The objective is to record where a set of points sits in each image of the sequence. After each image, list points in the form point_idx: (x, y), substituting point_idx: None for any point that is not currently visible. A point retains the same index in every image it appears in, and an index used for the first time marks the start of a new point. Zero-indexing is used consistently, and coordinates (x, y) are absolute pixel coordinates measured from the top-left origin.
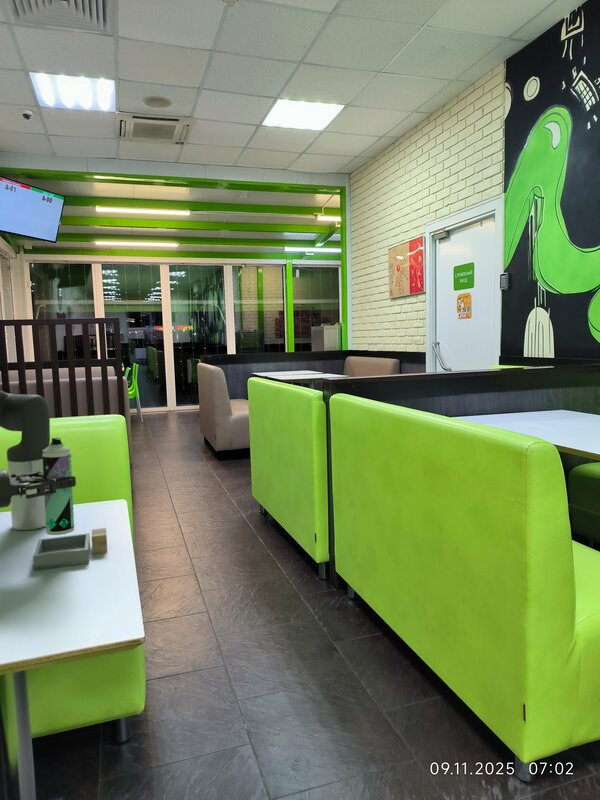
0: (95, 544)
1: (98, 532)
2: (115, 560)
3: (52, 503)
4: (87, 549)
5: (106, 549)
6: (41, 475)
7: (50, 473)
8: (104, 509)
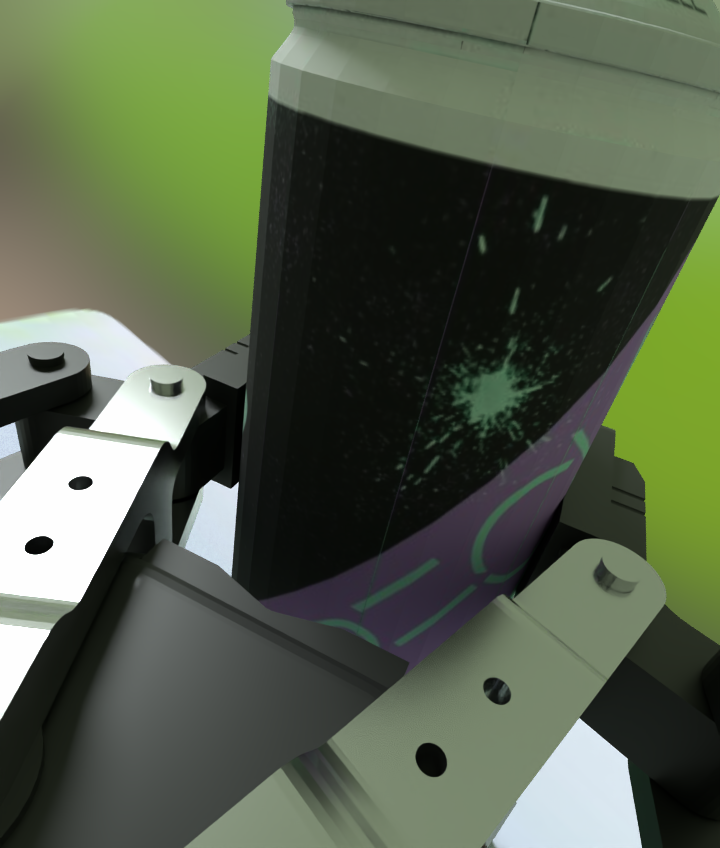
0: None
1: None
2: (562, 748)
3: None
4: (514, 806)
5: None
6: (184, 441)
7: (520, 480)
8: (90, 358)
